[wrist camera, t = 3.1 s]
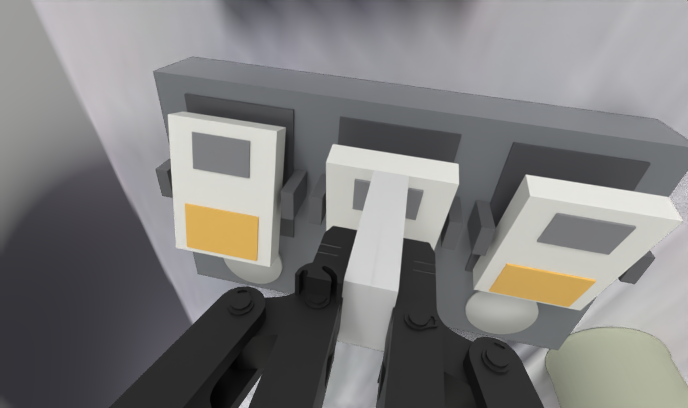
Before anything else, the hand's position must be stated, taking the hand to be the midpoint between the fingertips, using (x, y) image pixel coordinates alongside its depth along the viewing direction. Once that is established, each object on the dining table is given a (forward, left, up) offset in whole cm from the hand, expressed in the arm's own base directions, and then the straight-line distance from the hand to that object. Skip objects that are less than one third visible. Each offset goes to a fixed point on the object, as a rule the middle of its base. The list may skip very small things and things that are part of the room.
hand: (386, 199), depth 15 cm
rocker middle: (+3, 0, -3) cm, 4 cm away
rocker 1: (+3, -9, -3) cm, 10 cm away
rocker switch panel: (+5, 0, -9) cm, 10 cm away
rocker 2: (+3, +9, -3) cm, 10 cm away
